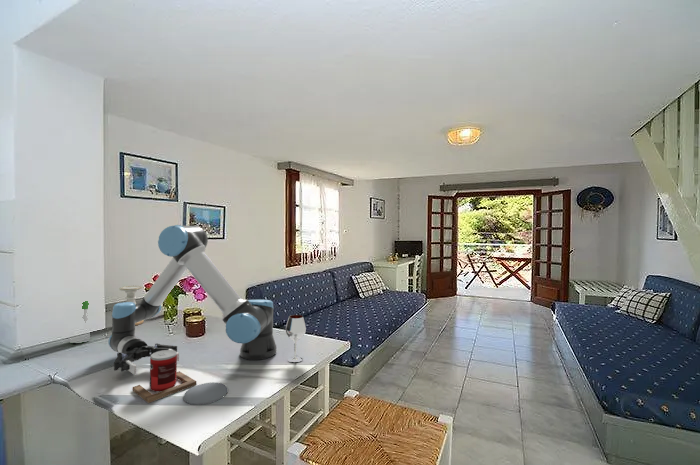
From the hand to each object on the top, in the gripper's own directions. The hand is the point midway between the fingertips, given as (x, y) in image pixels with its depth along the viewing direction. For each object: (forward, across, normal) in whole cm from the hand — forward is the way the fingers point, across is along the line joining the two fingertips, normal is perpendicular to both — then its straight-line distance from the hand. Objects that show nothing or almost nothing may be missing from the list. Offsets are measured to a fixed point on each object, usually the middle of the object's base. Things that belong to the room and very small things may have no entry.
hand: (157, 363), depth 110 cm
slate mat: (+19, -7, -7) cm, 22 cm away
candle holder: (-83, -20, -7) cm, 86 cm away
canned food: (+4, 0, -7) cm, 8 cm away
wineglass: (+21, -44, -7) cm, 50 cm away
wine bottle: (-68, +5, -7) cm, 69 cm away
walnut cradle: (+5, -1, -7) cm, 9 cm away
